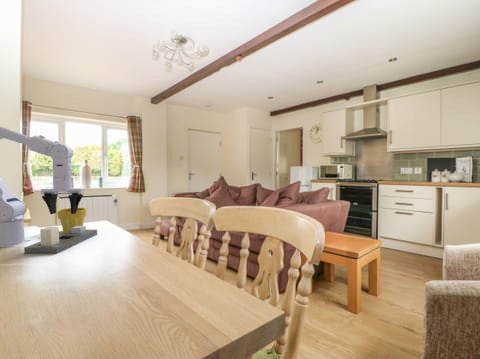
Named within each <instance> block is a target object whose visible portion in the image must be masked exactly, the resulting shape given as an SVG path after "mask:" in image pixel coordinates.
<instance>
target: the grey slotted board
mask: <svg viewBox="0 0 480 359" xmlns="http://www.w3.org/2000/svg"><path fill="white" fill-rule="evenodd" d="M97 235H98V229H86V232H84V233H81V234H71V230H70V231H67V232H63V233H59V243H58V244H55V245H53V246H41V241H39V242H38V241H37V242H35V243H33V244H30V245H27V246H25V247H23V252H24V253H23V254H24V255H50V254H51V255H53V254H54V255H55V254H57V255H58V254H59V253H61V252H63V251H66V250H68V249H70V248H72V247H74V246H76V245H79V244H81V243H83V242H85V241H87V240H88V239H89V240H90V239H91V238H93V237H95V236H97Z"/></svg>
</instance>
